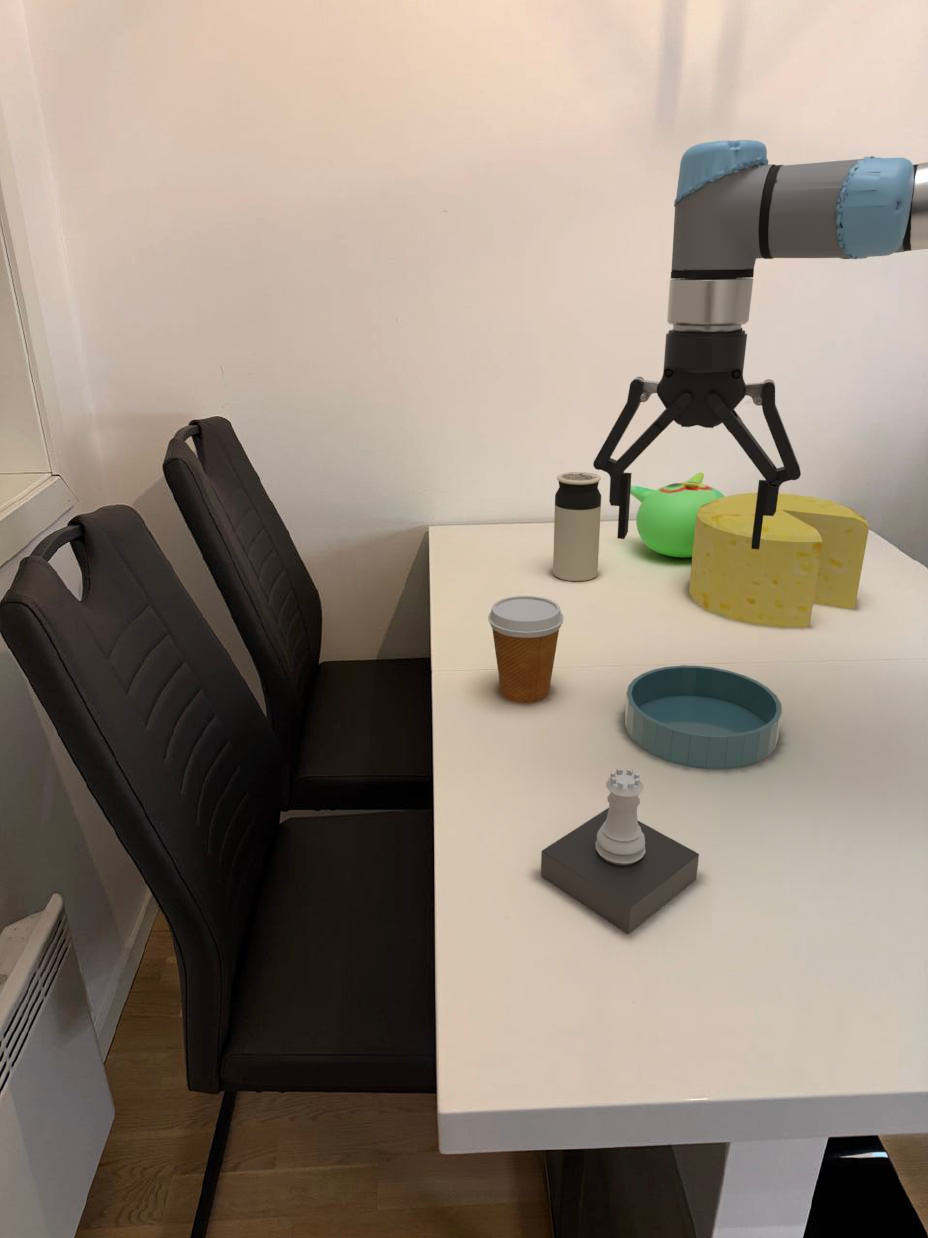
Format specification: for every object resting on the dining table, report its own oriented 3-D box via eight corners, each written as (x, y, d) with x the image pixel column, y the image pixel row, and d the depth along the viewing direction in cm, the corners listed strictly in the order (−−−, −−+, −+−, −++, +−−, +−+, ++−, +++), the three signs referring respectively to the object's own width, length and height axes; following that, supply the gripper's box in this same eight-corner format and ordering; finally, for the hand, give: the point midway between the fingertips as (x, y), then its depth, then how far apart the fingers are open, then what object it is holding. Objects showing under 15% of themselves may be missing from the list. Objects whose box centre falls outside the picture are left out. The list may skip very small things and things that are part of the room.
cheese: (873, 633, 126) (891, 537, 120) (693, 623, 130) (703, 530, 124) (835, 574, 149) (848, 491, 143) (684, 567, 154) (691, 487, 148)
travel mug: (587, 585, 146) (591, 484, 139) (545, 578, 150) (548, 479, 143) (604, 571, 153) (609, 474, 146) (563, 565, 156) (566, 469, 149)
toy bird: (656, 572, 152) (662, 493, 146) (618, 545, 167) (623, 472, 161) (745, 563, 155) (755, 485, 150) (701, 537, 171) (708, 465, 165)
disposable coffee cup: (491, 675, 115) (490, 593, 110) (561, 677, 114) (563, 595, 109) (485, 709, 106) (485, 622, 101) (561, 711, 105) (564, 624, 100)
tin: (810, 750, 96) (815, 717, 94) (681, 784, 90) (685, 750, 88) (713, 685, 111) (716, 655, 109) (597, 711, 105) (599, 680, 103)
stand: (696, 880, 76) (699, 853, 75) (628, 936, 70) (630, 907, 69) (609, 830, 83) (611, 805, 82) (540, 877, 77) (541, 850, 76)
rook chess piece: (651, 866, 73) (658, 789, 70) (600, 869, 73) (605, 792, 70) (638, 834, 78) (643, 760, 74) (590, 837, 77) (594, 763, 74)
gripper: (844, 325, 80) (812, 538, 88) (584, 324, 87) (577, 521, 95) (852, 331, 73) (816, 561, 81) (570, 329, 80) (563, 541, 89)
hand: (687, 540), depth 88 cm, fingers open, 13 cm apart
